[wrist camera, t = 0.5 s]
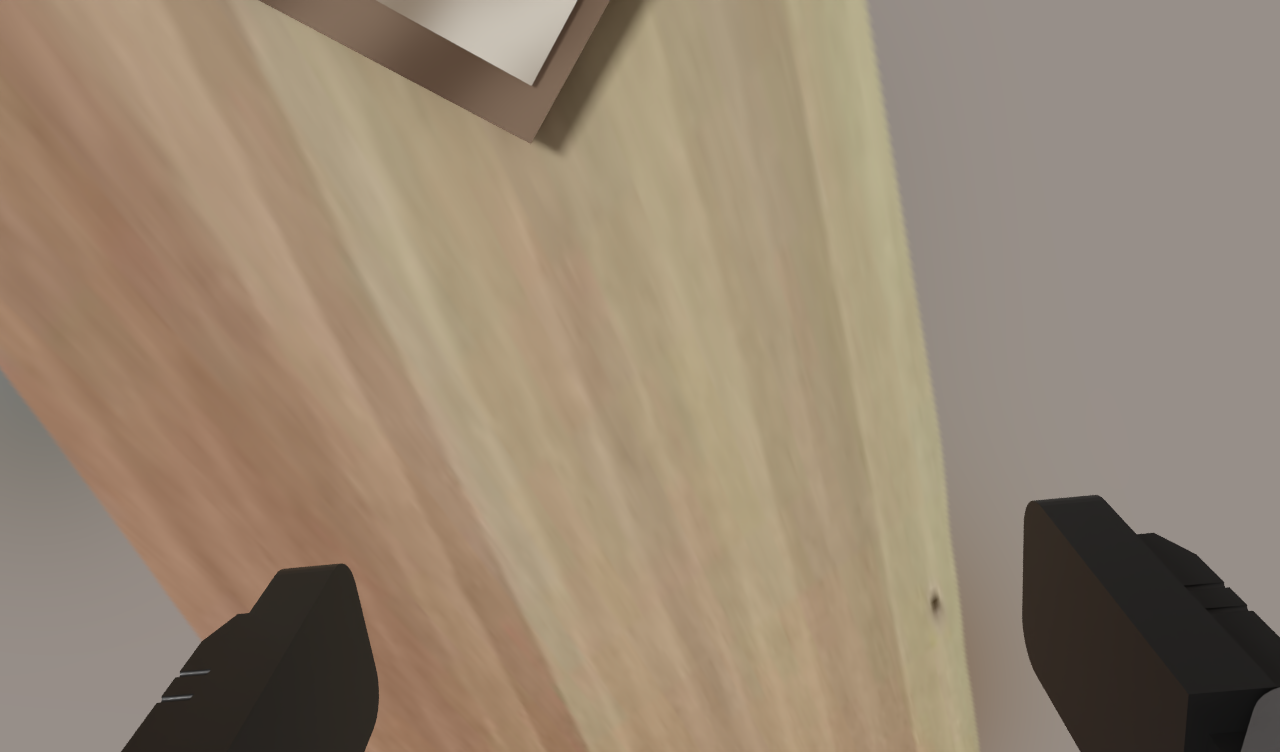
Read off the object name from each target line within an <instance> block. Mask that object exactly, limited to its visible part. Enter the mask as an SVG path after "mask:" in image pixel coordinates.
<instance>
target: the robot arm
mask: <svg viewBox="0 0 1280 752" xmlns="http://www.w3.org/2000/svg"><path fill="white" fill-rule="evenodd" d="M1023 548H1024V549H1023V606H1022V619H1023V620H1022V622H1023V632H1024V638H1025V644H1026V648H1027V652H1028V656H1029V659H1030V662H1031V665H1032V667H1033V669H1034V671H1035V673H1036V675H1037V677H1038V679H1039V681H1040V682H1041V684H1042V686H1043V688H1044V689H1045V691H1046V693H1047V694H1048V696H1049V698H1050V700H1051V701H1052V703H1053V705H1054V707H1055V708H1056V710H1057V712H1058V714H1059V715H1060V717H1061V719H1062V720H1063V722H1064V724H1065V726H1066V727H1067V729H1068V731H1069V733H1070V734H1071V736H1072V738H1073V739H1074V741H1075V743H1076V745H1077V746H1078V748H1079V750H1080V751H1081V752H1280V637H1279V636H1278V635H1277V634H1275V632H1274V631H1273V630H1271V628H1270V627H1269V626H1268V625H1267V624H1266V623H1265V622H1264V621H1263V620H1262V619H1261V618H1260V617H1259V616H1258V615H1257V614H1256V613H1255V612H1254V611H1248V609H1247V604H1246V603H1245V602H1244V601H1242V600H1241V598H1240V597H1238V596H1237V595H1236V594H1235V593H1234V592H1233V591H1232V590H1231V589H1230V588H1225V586H1224V582H1223V581H1222V580H1221V579H1220V578H1219V577H1218V576H1217V575H1216V574H1215V573H1214V572H1213V571H1212V570H1211V569H1210V568H1209V567H1208V566H1207V565H1206V564H1205V563H1204V562H1203V561H1202V560H1201V559H1200V558H1199V557H1198V556H1197V555H1196V554H1194V553H1192V552H1190V551H1188V550H1186V549H1184V548H1182V547H1180V546H1179V545H1177V544H1175V543H1173V542H1171V541H1169V540H1167V539H1165V538H1163V537H1161V536H1159V535H1157V534H1155V533H1147V534H1136V533H1135V532H1134V531H1133V530H1132V529H1131V528H1130V527H1129V526H1128V525H1127V524H1126V523H1125V522H1124V520H1122V518H1121V517H1120V516H1119V515H1118V514H1117V513H1116V512H1115V511H1114V510H1113V509H1112V508H1111V506H1110V505H1109V504H1108V503H1107V502H1106V501H1105V500H1104V499H1103V498H1102V497H1100V496H1098V495H1090V496H1080V497H1069V498H1058V499H1048V500H1036V501H1031V502H1030V503H1029V504H1028V505H1027V507H1026V511H1025V516H1024V546H1023ZM378 703H379V686H378V676H377V671H376V666H375V662H374V658H373V654H372V650H371V646H370V641H369V637H368V633H367V629H366V625H365V621H364V617H363V612H362V608H361V604H360V600H359V596H358V592H357V587H356V583H355V580H354V577H353V574H352V572H351V570H350V569H349V568H348V566H346V565H345V564H331V565H321V566H310V567H299V568H288V569H282V570H280V571H279V572H278V573H277V574H276V575H275V576H274V578H273V579H272V581H271V582H270V584H269V585H268V587H267V588H266V589H265V591H264V592H263V594H262V595H261V597H260V598H259V600H258V601H257V603H256V604H255V605H254V607H253V608H252V610H251V611H250V613H246V614H237V615H236V616H235V617H233V618H232V619H231V620H229V621H228V622H227V623H226V624H224V625H223V626H222V627H220V628H219V629H218V630H216V631H215V632H214V633H212V634H211V635H210V636H208V637H207V638H206V639H204V640H203V641H202V642H201V643H200V645H199V646H198V648H197V649H196V650H195V652H194V653H193V654H192V656H191V657H190V659H189V660H188V661H187V662H186V664H185V665H184V667H183V668H182V669H181V671H180V677H177V678H175V679H174V680H173V682H172V683H171V684H170V686H169V687H168V688H167V690H166V691H165V692H164V694H163V695H162V702H161V703H157V704H156V705H155V706H154V708H153V709H152V710H151V712H150V713H149V714H148V716H147V717H146V719H145V720H144V722H143V723H142V724H141V725H140V727H139V728H138V729H137V731H136V732H135V734H134V735H133V736H132V738H131V739H130V740H129V742H128V743H127V745H126V746H125V747H124V749H123V750H122V751H121V752H364V751H365V749H366V746H367V744H368V741H369V739H370V736H371V734H372V731H373V729H374V726H375V722H376V718H377V712H378Z"/></svg>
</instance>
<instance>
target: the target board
mask: <svg viewBox="0 0 1280 752" xmlns="http://www.w3.org/2000/svg"><path fill="white" fill-rule="evenodd" d="M260 1H261V2H263V3H265V4H267V5H269V6H271V7H273V8H275V9H277V10H278V11H280V12H282V13H284V14H286V15H288V16H290V17H292V18H294V19H295V20H297V21H299V22H301V23H303V24H305V25H307V26H309V27H311V28H313V29H314V30H316V31H318V32H320V33H322V34H324V35H326V36H328V37H330V38H331V39H333V40H335V41H337V42H339V43H341V44H343V45H345V46H347V47H348V48H350V49H352V50H354V51H356V52H358V53H360V54H362V55H364V56H366V57H367V58H369V59H371V60H373V61H375V62H377V63H379V64H381V65H383V66H384V67H386V68H388V69H390V70H392V71H394V72H396V73H398V74H400V75H402V76H403V77H405V78H407V79H409V80H411V81H413V82H415V83H417V84H419V85H420V86H422V87H424V88H426V89H428V90H430V91H432V92H434V93H436V94H437V95H439V96H441V97H443V98H445V99H447V100H449V101H451V102H453V103H455V104H456V105H458V106H460V107H462V108H464V109H466V110H468V111H470V112H472V113H473V114H475V115H477V116H479V117H481V118H483V119H485V120H487V121H489V122H490V123H492V124H494V125H496V126H498V127H500V128H502V129H504V130H506V131H508V132H509V133H511V134H513V135H515V136H517V137H519V138H521V139H523V140H525V141H526V142H528V143H530V144H531V143H532V141H533V139H534V137H535V136H536V134H537V132H538V130H539V128H540V126H541V125H542V123H543V121H544V119H545V117H546V116H547V114H548V112H549V110H550V108H551V106H552V105H553V103H554V101H555V99H556V97H557V96H558V94H559V92H560V90H561V88H562V87H563V85H564V83H565V81H566V79H567V77H568V76H569V74H570V72H571V70H572V68H573V67H574V65H575V63H576V61H577V59H578V58H579V56H580V54H581V52H582V50H583V48H584V47H585V45H586V43H587V41H588V39H589V38H590V36H591V34H592V32H593V30H594V28H595V27H596V25H597V23H598V21H599V19H600V18H601V16H602V14H603V12H604V10H605V9H606V7H607V5H608V3H609V1H610V0H260Z"/></svg>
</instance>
